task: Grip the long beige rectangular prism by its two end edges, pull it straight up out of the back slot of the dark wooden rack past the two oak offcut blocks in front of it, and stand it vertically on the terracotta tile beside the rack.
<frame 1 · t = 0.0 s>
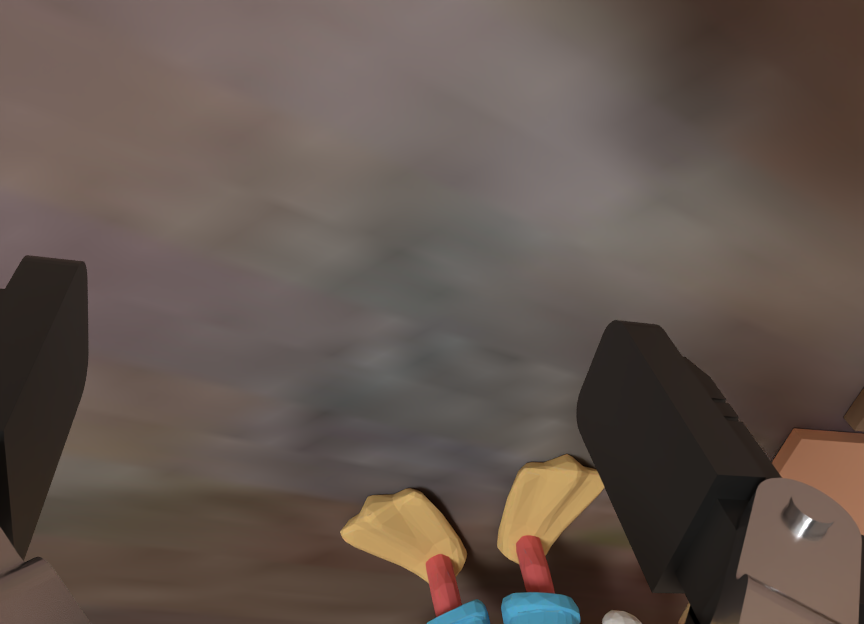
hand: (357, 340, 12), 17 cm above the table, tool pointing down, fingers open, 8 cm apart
toy: (477, 528, 42), on the table
tile: (833, 510, 46), on the table
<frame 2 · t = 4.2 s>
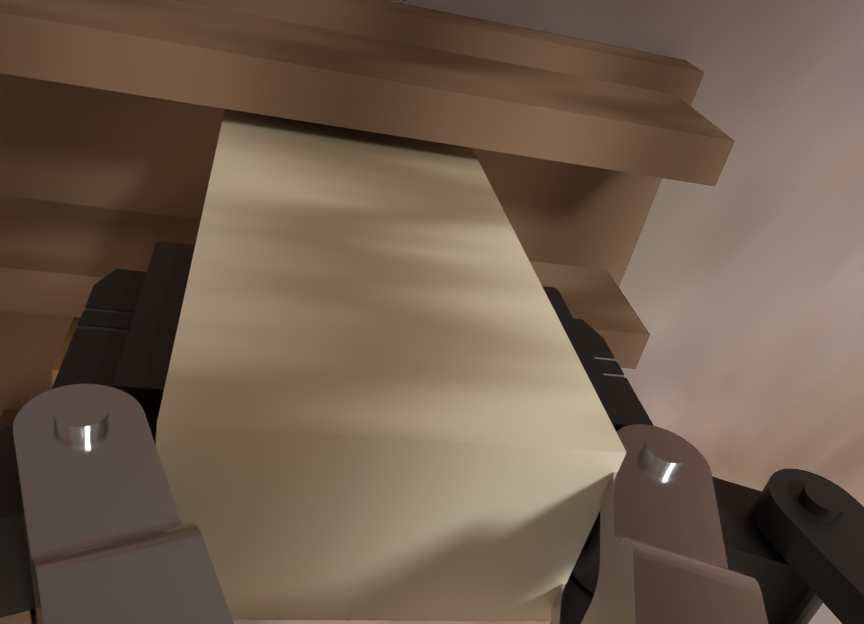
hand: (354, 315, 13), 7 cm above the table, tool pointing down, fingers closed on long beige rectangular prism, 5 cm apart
offcut 1: (189, 344, 20), point 1 cm above the table, touching rack
rack: (318, 254, 20), on the table
long beige rectangular prism: (337, 162, 18), point 1 cm above the table, touching gripper, rack
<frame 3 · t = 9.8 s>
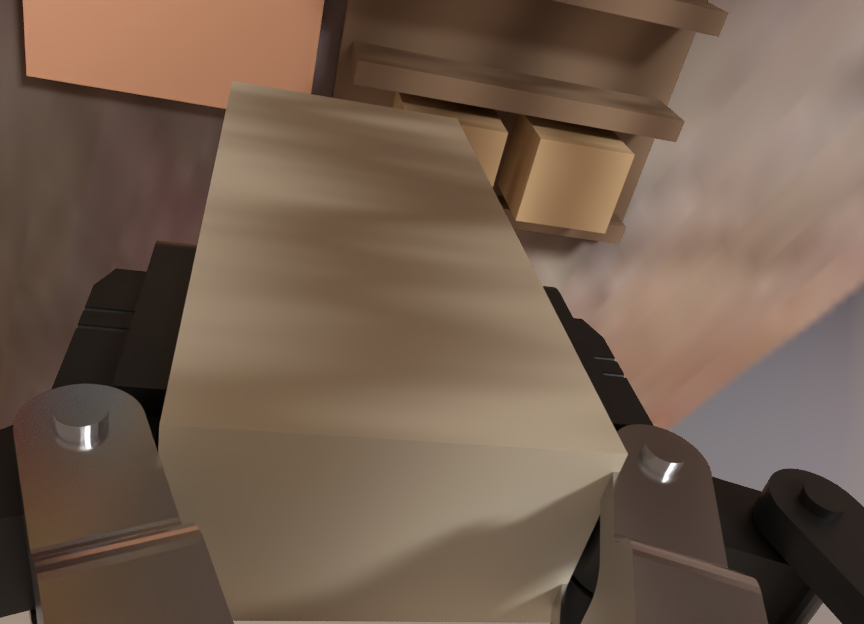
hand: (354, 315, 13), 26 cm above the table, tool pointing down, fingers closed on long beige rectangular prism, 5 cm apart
offcut 1: (434, 134, 37), point 1 cm above the table, touching rack
rack: (503, 88, 38), on the table
long beige rectangular prism: (338, 163, 18), point 19 cm above the table, touching gripper
offcut 2: (551, 154, 39), point 1 cm above the table, touching rack
when the fingers open (8 cm above the table, at t = 15.5 s): long beige rectangular prism stays where it is, resting on tile.
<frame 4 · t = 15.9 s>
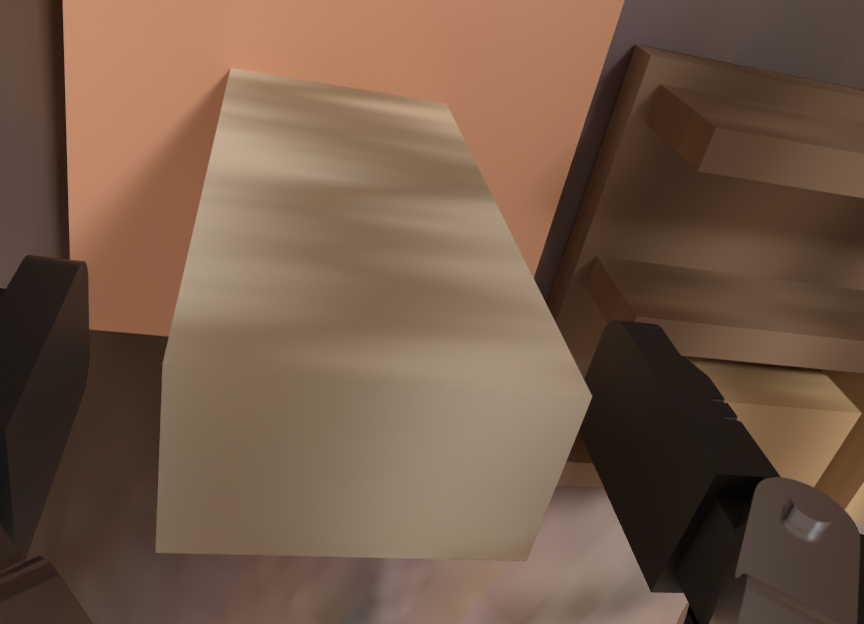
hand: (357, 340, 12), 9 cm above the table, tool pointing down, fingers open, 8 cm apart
offcut 1: (692, 373, 24), point 1 cm above the table, touching rack
rack: (793, 299, 25), on the table
long beige rectangular prism: (332, 147, 19), point 1 cm above the table, touching tile
offcut 2: (853, 388, 26), point 1 cm above the table, touching rack
tile: (333, 134, 19), on the table
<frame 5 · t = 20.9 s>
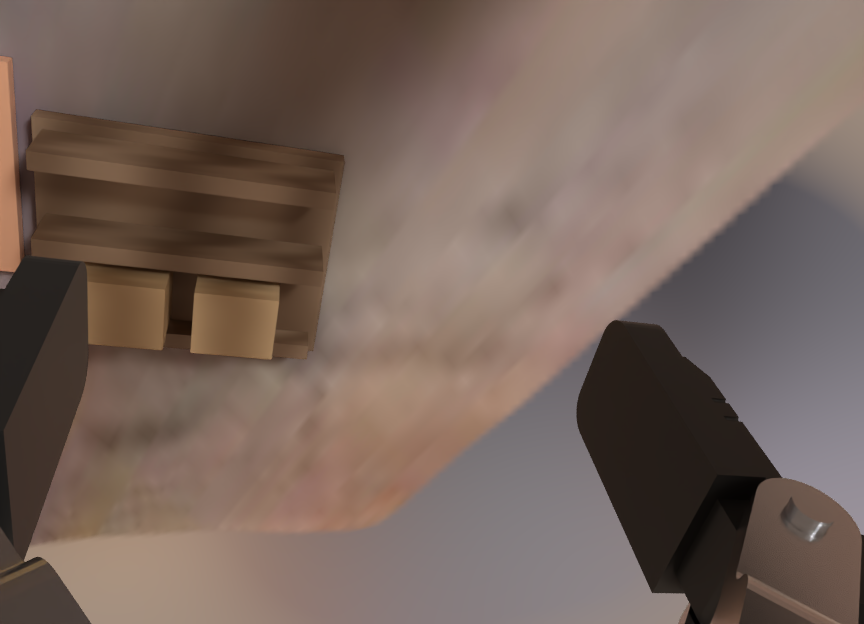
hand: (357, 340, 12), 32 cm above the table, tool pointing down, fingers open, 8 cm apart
offcut 1: (132, 278, 45), point 1 cm above the table, touching rack
rack: (190, 239, 46), on the table
offcut 2: (238, 289, 47), point 1 cm above the table, touching rack
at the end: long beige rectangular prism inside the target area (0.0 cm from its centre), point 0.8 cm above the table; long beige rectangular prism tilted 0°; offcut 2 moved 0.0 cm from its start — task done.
